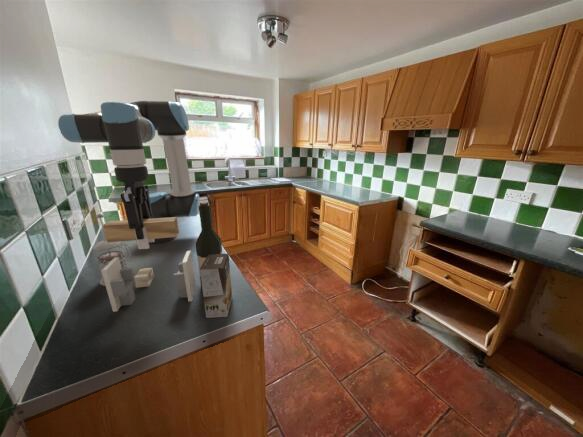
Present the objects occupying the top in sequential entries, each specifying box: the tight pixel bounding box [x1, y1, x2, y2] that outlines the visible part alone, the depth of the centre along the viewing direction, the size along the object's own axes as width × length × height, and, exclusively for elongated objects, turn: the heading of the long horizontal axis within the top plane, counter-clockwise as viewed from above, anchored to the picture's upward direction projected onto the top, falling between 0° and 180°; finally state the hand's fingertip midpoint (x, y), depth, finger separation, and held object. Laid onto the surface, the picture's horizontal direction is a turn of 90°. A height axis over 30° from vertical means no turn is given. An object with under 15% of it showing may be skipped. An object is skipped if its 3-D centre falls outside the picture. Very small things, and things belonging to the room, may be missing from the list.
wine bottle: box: [194, 201, 224, 288], centre depth 81 cm, size 8×8×30 cm
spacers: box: [134, 267, 180, 289], centre depth 87 cm, size 6×18×4 cm, turn 103°
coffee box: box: [200, 253, 233, 319], centre depth 71 cm, size 9×6×16 cm
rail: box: [102, 217, 180, 242], centre depth 70 cm, size 4×18×5 cm, turn 103°
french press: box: [92, 213, 131, 287], centre depth 86 cm, size 10×12×25 cm
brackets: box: [101, 250, 197, 313], centre depth 76 cm, size 8×22×14 cm, turn 103°
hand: (146, 244), depth 72 cm, fingers closed on rail, 4 cm apart
